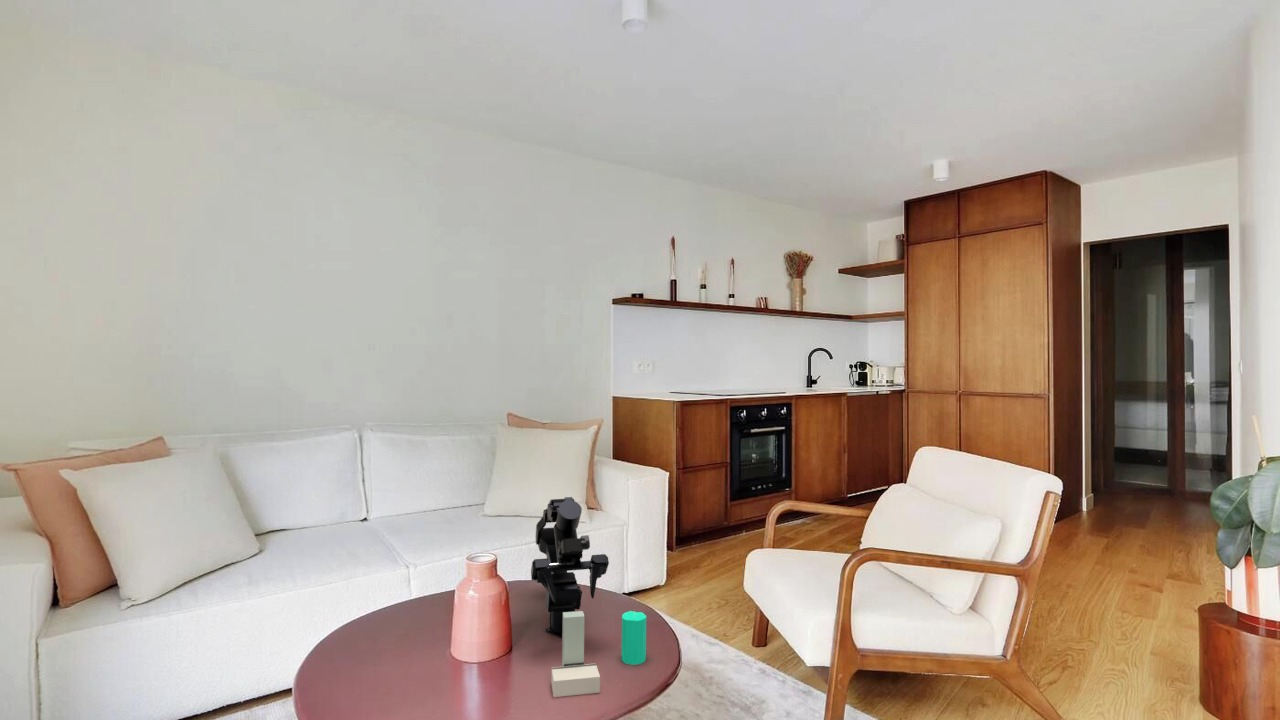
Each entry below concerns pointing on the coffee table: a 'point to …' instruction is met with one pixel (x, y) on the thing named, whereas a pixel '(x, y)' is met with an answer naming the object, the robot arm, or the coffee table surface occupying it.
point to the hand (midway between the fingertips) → (574, 599)
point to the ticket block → (575, 680)
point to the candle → (633, 637)
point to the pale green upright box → (573, 638)
